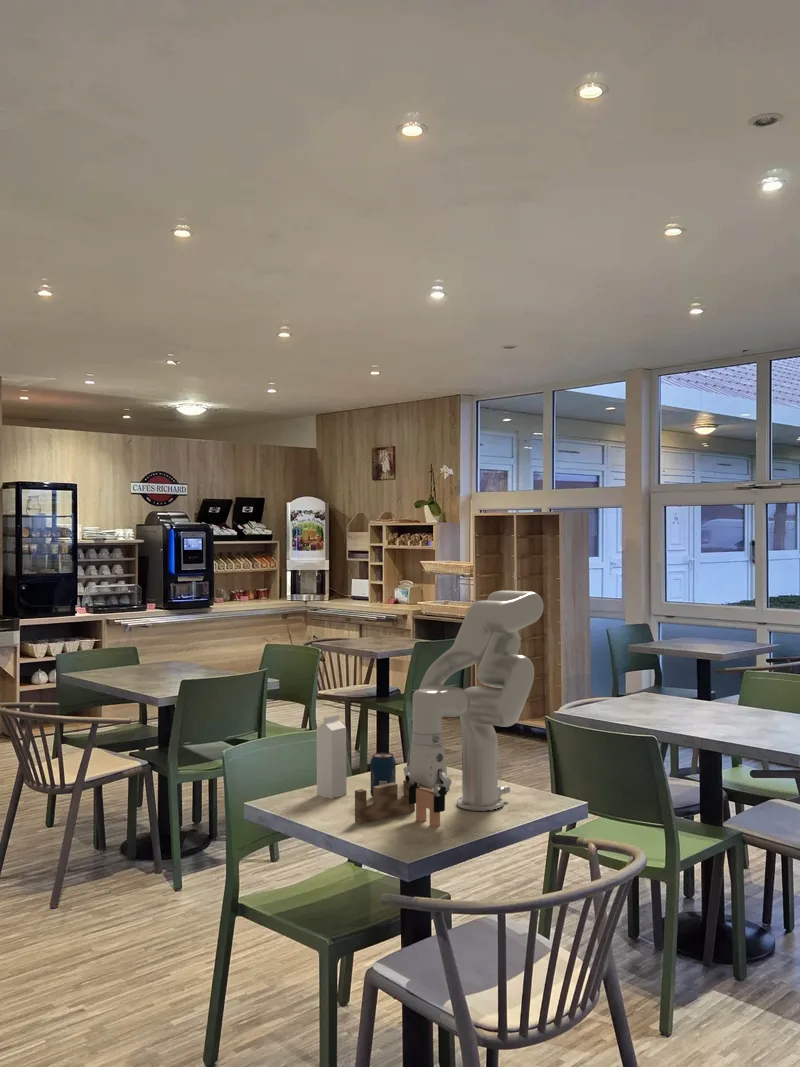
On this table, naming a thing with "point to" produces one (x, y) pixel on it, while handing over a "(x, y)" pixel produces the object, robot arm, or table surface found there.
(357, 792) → the walnut e-shaped block
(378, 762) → the soda can
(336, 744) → the milk
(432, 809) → the slotted plate
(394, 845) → the table surface
